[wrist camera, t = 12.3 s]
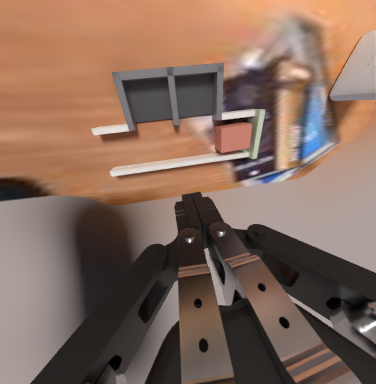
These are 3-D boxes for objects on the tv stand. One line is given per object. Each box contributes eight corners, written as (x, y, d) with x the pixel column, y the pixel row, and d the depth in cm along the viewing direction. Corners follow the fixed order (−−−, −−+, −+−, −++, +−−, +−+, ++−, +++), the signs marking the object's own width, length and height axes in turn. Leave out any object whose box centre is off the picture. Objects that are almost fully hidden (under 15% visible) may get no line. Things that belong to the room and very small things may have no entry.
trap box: (115, 171, 31) (109, 179, 27) (77, 78, 22) (62, 74, 19) (247, 152, 33) (256, 158, 30) (259, 62, 25) (275, 56, 21)
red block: (214, 147, 32) (221, 153, 28) (214, 126, 29) (221, 129, 26) (240, 143, 32) (249, 148, 29) (242, 121, 29) (252, 124, 26)
